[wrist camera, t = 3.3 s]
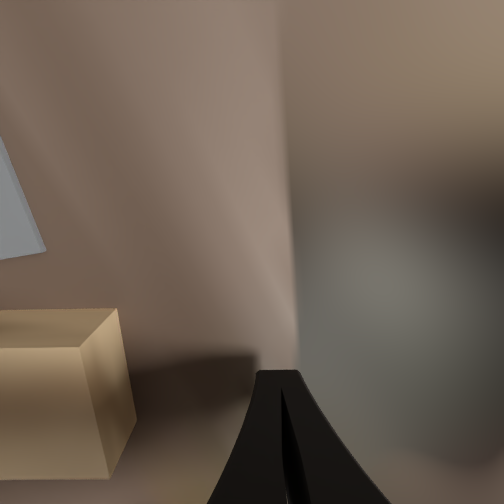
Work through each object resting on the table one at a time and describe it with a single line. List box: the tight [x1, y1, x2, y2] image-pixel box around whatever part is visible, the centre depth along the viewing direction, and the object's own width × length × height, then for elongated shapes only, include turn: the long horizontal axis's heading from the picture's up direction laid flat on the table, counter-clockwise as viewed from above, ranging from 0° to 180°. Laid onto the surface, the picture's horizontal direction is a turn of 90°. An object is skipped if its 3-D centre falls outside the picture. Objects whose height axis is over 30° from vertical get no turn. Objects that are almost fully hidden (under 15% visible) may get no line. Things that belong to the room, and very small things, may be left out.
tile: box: [0, 308, 137, 480], centre depth 10 cm, size 5×5×2 cm
